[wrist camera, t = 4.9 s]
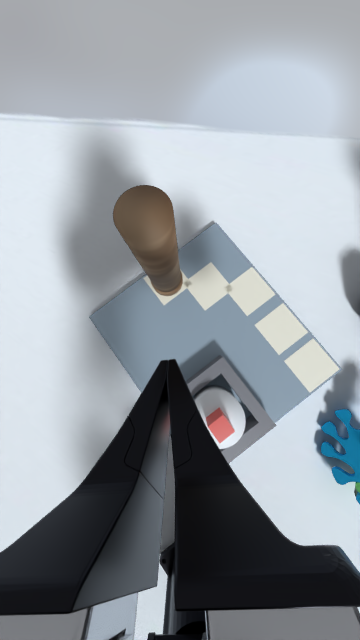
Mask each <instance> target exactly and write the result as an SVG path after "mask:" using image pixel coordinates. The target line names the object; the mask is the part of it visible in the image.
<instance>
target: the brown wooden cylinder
mask: <svg viewBox="0 0 360 640" xmlns="http://www.w3.org/2000/svg"><path fill="white" fill-rule="evenodd" d="M113 219H114V223H115V226H116V228H117V229H118V231H119V233H120V234H121V236H122V237H123V239H124V240H125V242H126V243H127V245H128V246H129V248H130V249H131V251H132V253H133V254H134V256H135V257H136V259H137V260H138V262H139V263H140V265H141V266H142V268H143V269H144V271H145V273H146V274H147V276H148V277H149V279H150V280H151V284H152V286H153V288H154V289H155V291H156V292H157V293H159V294H160V295H163V296H172V295H174V294H176V293H177V292H178V291H179V290H180V289H181V287H182V284H183V277H182V272H181V270H180V265H179V256H178V247H177V238H176V230H175V221H174V212H173V206H172V202H171V200H170V198H169V197H168V196H167V194H166V193H165V192H163V191H162V190H161V189H159V188H157V187H154V186H149V185H140V186H136V187H133V188H131V189H129V190H127V191H126V192H124V193H123V194H122V195H121V196H120V197H119V199H118V200H117V202H116V204H115V207H114V211H113Z"/></svg>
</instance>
